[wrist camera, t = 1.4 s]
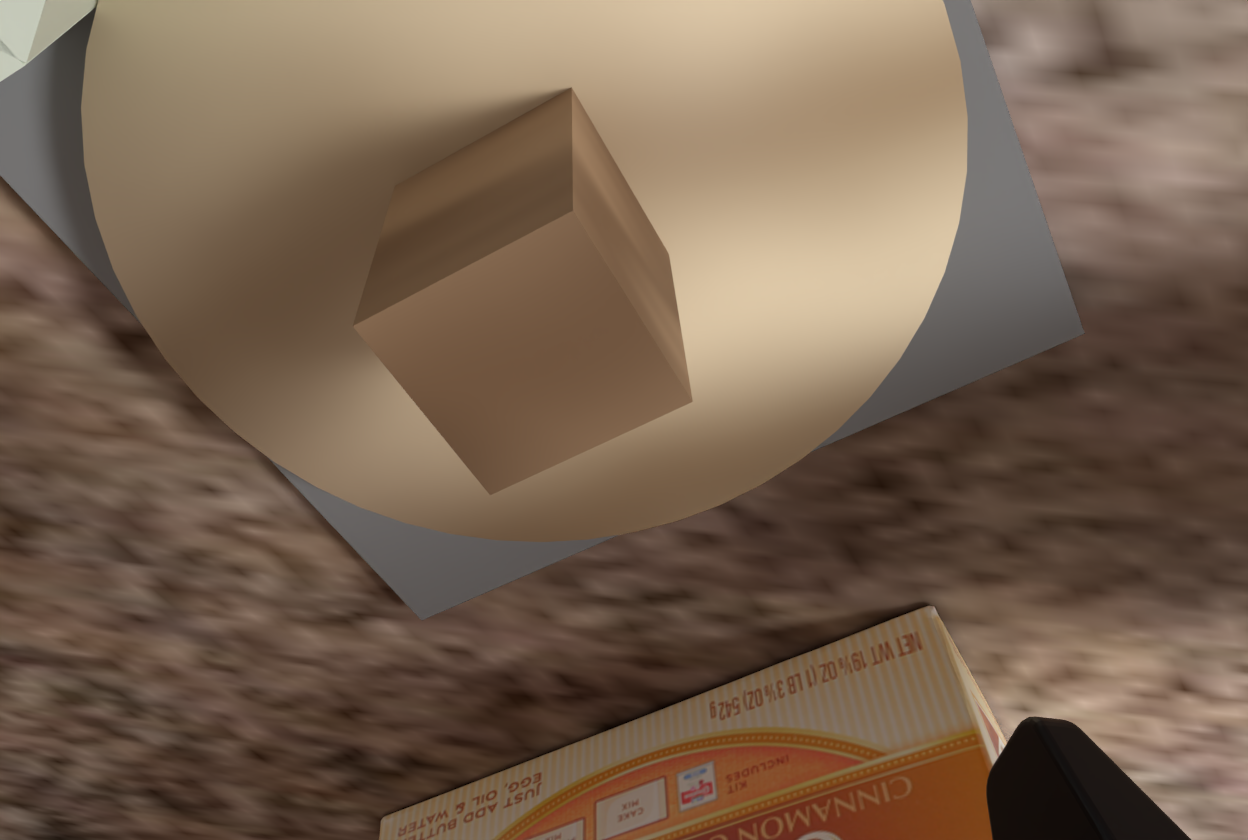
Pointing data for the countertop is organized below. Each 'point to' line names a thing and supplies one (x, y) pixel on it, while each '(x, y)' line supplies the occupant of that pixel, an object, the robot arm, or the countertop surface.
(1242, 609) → the countertop surface
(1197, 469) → the countertop surface
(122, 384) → the countertop surface
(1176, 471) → the countertop surface
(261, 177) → the lid
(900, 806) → the coffeecake box
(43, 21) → the bowl
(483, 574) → the plate
